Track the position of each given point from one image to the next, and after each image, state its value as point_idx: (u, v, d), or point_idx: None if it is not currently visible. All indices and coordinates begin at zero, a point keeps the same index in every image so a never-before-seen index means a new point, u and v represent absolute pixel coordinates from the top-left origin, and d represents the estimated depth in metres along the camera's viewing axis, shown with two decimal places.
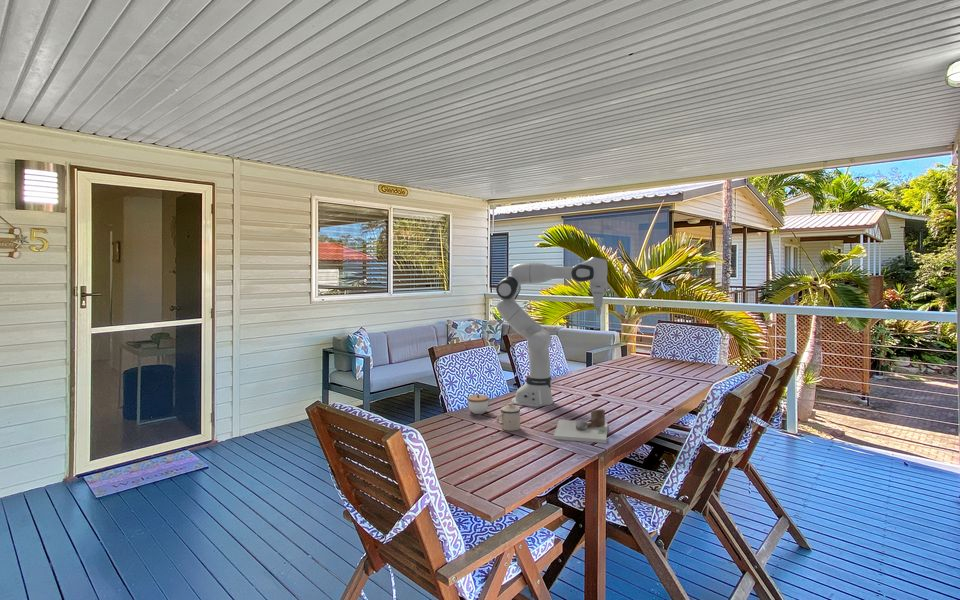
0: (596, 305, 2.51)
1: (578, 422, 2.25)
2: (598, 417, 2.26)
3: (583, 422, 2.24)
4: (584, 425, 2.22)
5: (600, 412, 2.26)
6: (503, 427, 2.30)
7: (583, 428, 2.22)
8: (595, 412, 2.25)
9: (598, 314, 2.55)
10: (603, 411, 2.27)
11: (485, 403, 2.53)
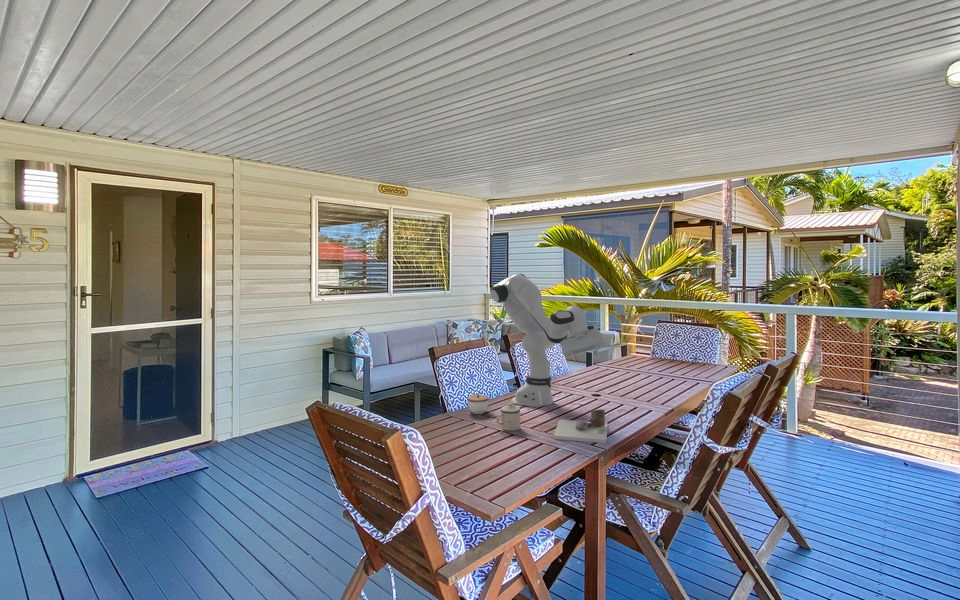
0: None
1: (578, 422, 2.25)
2: (598, 417, 2.26)
3: (583, 422, 2.24)
4: (584, 425, 2.22)
5: (600, 412, 2.26)
6: (503, 427, 2.30)
7: (583, 428, 2.22)
8: (595, 412, 2.25)
9: None
10: (603, 411, 2.27)
11: (485, 403, 2.53)
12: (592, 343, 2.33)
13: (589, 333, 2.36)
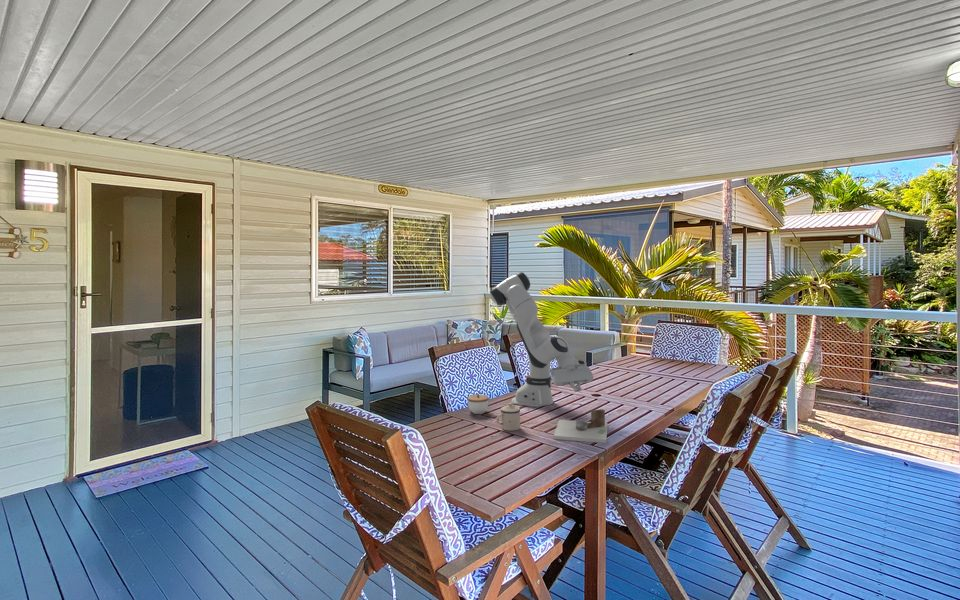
0: None
1: (578, 422, 2.25)
2: (598, 417, 2.26)
3: (583, 422, 2.24)
4: (584, 425, 2.22)
5: (600, 412, 2.26)
6: (503, 427, 2.30)
7: (583, 428, 2.22)
8: (595, 412, 2.25)
9: None
10: (603, 411, 2.27)
11: (485, 403, 2.53)
12: (584, 378, 2.42)
13: (580, 367, 2.45)
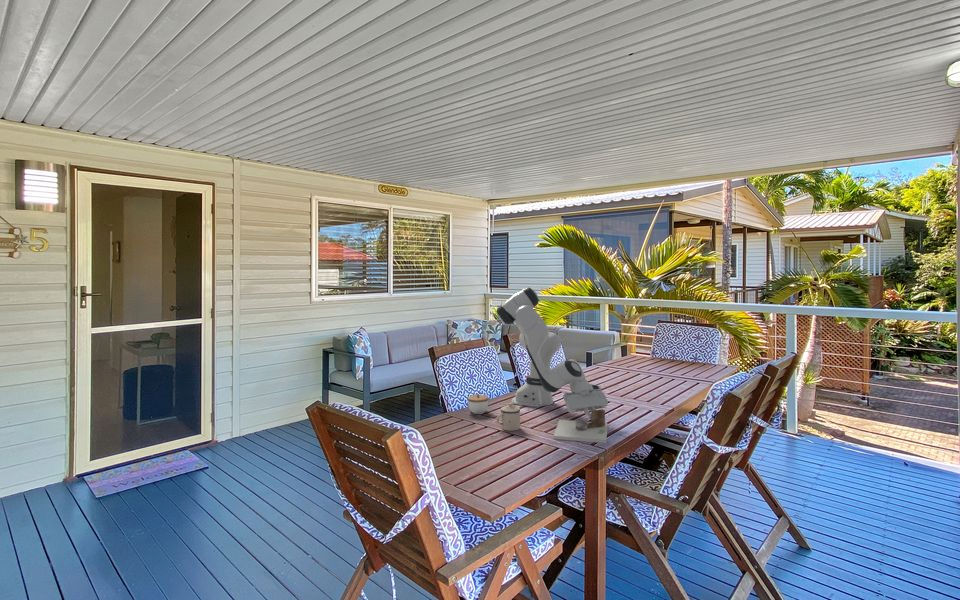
0: None
1: (578, 422, 2.25)
2: (598, 417, 2.26)
3: (583, 422, 2.24)
4: (584, 425, 2.22)
5: (600, 412, 2.26)
6: (503, 427, 2.30)
7: (583, 428, 2.22)
8: (595, 412, 2.25)
9: None
10: (603, 411, 2.27)
11: (485, 403, 2.53)
12: (598, 404, 2.31)
13: (594, 393, 2.34)
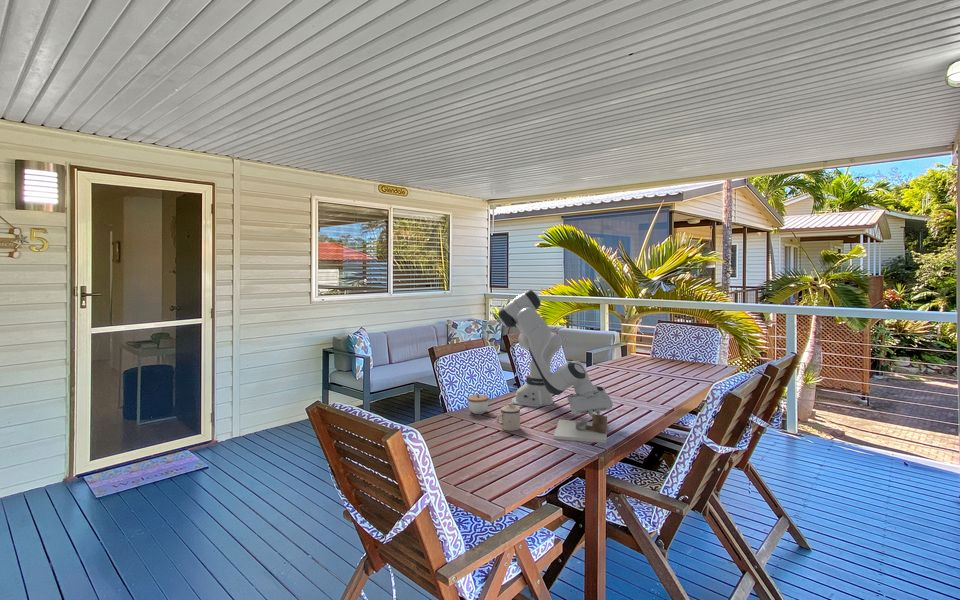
0: None
1: (579, 421, 2.25)
2: (598, 422, 2.19)
3: (582, 423, 2.24)
4: (579, 425, 2.22)
5: (600, 418, 2.18)
6: (503, 427, 2.30)
7: (578, 428, 2.23)
8: (594, 416, 2.20)
9: None
10: (604, 418, 2.17)
11: (485, 403, 2.53)
12: (603, 406, 2.29)
13: (598, 394, 2.32)
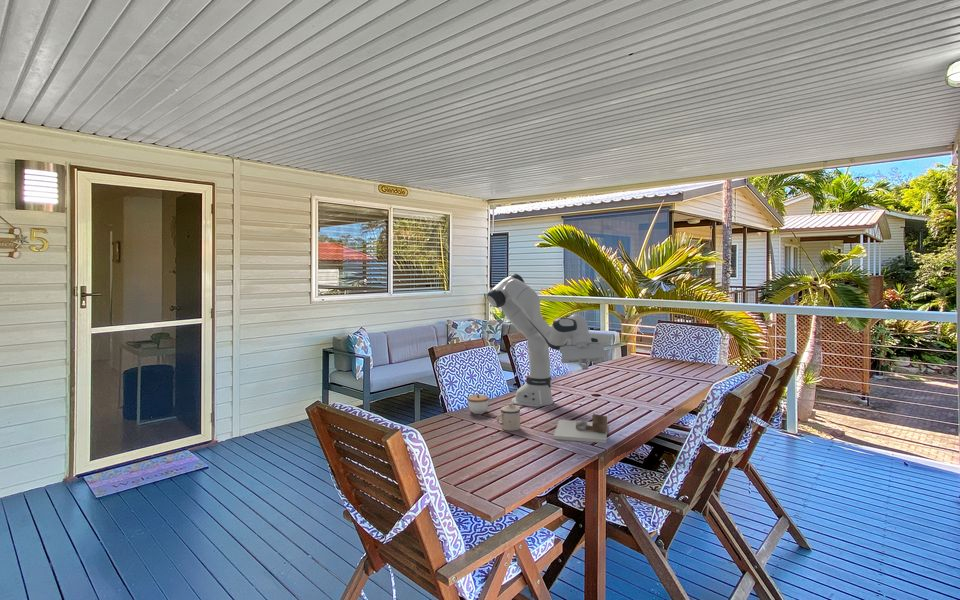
0: (605, 356, 2.32)
1: (579, 421, 2.25)
2: (598, 422, 2.19)
3: (582, 423, 2.24)
4: (579, 425, 2.22)
5: (600, 418, 2.18)
6: (503, 427, 2.30)
7: (578, 428, 2.23)
8: (594, 416, 2.20)
9: None
10: (604, 418, 2.17)
11: (485, 403, 2.53)
12: (594, 356, 2.31)
13: (591, 345, 2.34)
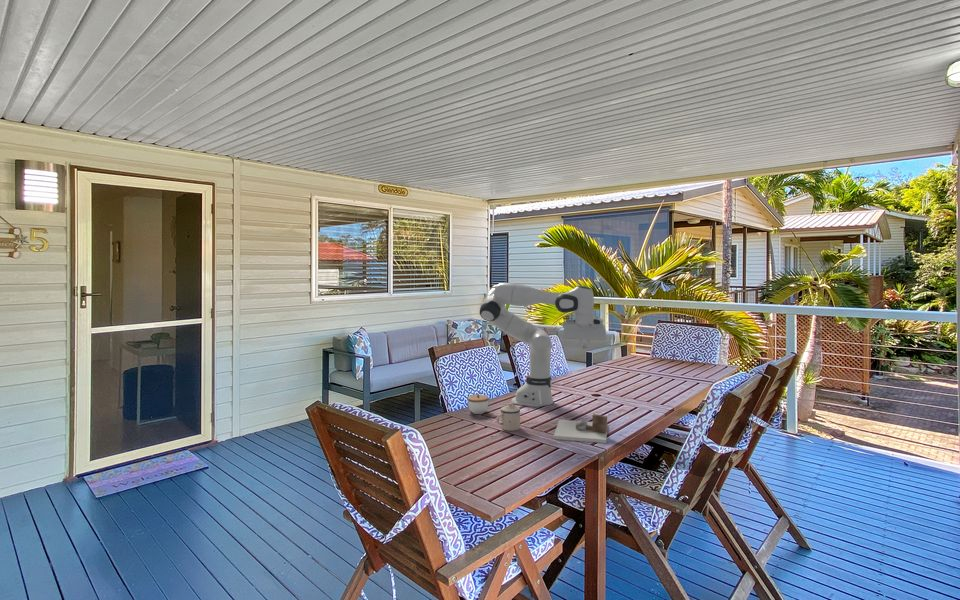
0: None
1: (579, 421, 2.25)
2: (598, 422, 2.19)
3: (582, 423, 2.24)
4: (579, 425, 2.22)
5: (600, 418, 2.18)
6: (503, 427, 2.30)
7: (578, 428, 2.23)
8: (594, 416, 2.20)
9: (587, 346, 2.42)
10: (604, 418, 2.17)
11: (485, 403, 2.53)
12: (594, 338, 2.39)
13: (593, 326, 2.38)
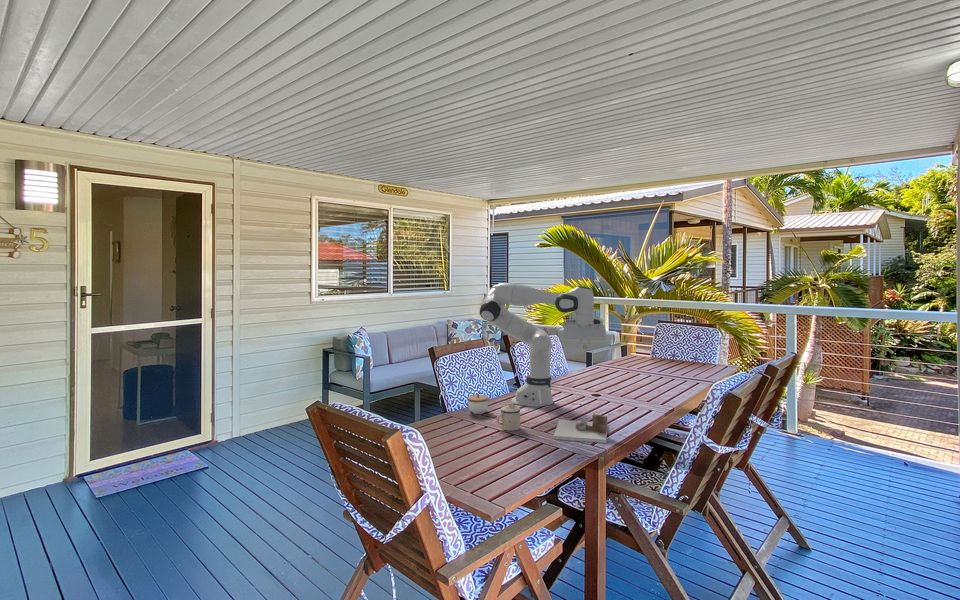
0: None
1: (579, 421, 2.25)
2: (598, 422, 2.19)
3: (582, 423, 2.24)
4: (579, 425, 2.22)
5: (600, 418, 2.18)
6: (503, 427, 2.30)
7: (578, 428, 2.23)
8: (594, 416, 2.20)
9: (587, 346, 2.42)
10: (604, 418, 2.17)
11: (485, 403, 2.53)
12: (594, 338, 2.39)
13: (593, 326, 2.38)
